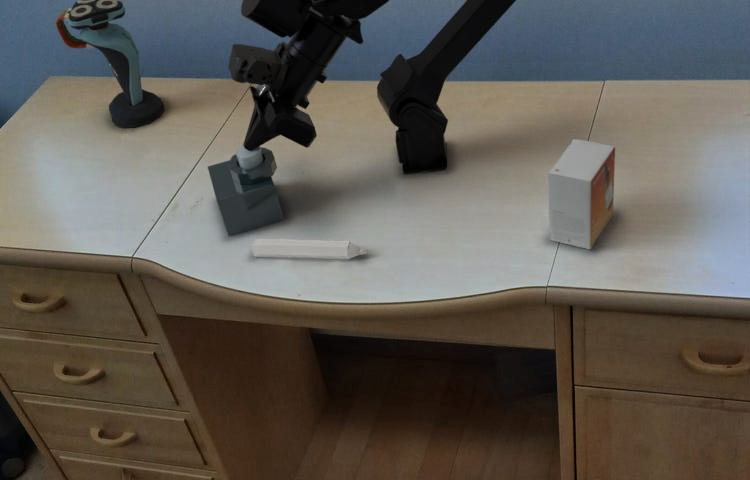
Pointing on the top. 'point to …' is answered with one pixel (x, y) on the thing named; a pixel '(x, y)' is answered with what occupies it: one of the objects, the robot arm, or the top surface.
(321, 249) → the pale grey rod
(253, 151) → the pale grey disc
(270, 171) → the push button box
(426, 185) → the top surface
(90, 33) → the electric shaver
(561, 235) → the small box
